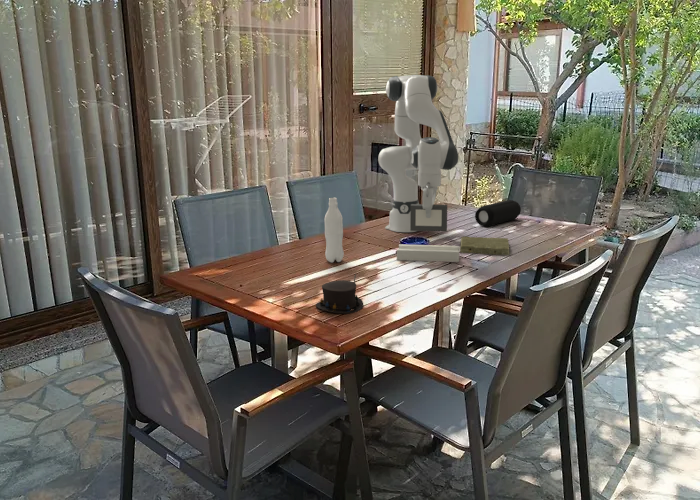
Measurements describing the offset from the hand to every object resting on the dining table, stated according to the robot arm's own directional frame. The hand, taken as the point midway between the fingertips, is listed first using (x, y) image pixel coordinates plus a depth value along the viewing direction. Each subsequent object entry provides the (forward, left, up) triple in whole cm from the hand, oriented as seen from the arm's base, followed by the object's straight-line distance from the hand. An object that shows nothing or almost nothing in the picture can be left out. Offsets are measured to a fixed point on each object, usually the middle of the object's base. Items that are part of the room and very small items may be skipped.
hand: (428, 216), depth 243 cm
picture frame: (0, 0, -6) cm, 6 cm away
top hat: (+58, -24, -17) cm, 65 cm away
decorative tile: (-17, +22, -18) cm, 33 cm away
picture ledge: (0, 0, -17) cm, 17 cm away
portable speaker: (-66, +29, -17) cm, 74 cm away
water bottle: (+9, -36, -17) cm, 41 cm away
